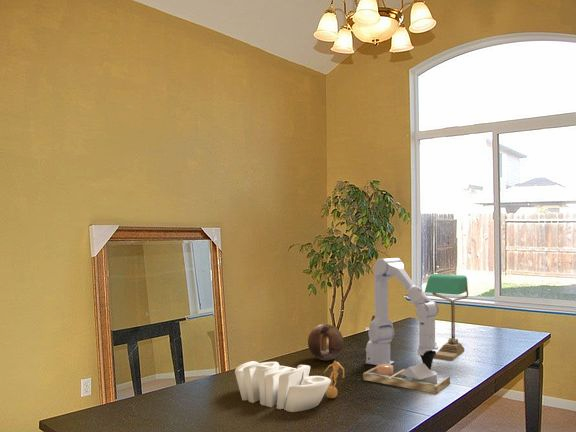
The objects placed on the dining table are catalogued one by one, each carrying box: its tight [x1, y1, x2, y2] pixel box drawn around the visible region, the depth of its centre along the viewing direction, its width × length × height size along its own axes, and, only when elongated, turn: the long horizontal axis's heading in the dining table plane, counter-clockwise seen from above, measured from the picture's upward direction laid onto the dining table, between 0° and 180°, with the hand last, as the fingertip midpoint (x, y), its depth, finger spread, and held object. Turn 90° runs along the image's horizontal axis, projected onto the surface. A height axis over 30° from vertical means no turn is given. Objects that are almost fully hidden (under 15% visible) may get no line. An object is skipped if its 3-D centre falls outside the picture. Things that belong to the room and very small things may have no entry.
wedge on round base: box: [400, 362, 438, 385], centre depth 193 cm, size 9×7×13 cm
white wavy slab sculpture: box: [234, 360, 332, 413], centre depth 176 cm, size 35×16×11 cm, turn 53°
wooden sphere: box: [307, 323, 344, 362], centre depth 226 cm, size 15×15×15 cm
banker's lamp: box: [424, 273, 469, 362], centre depth 234 cm, size 16×21×35 cm
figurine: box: [324, 360, 345, 399], centre depth 177 cm, size 8×6×12 cm
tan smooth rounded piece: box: [376, 364, 394, 377], centre depth 200 cm, size 6×6×4 cm
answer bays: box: [362, 365, 451, 394], centre depth 195 cm, size 28×14×3 cm, turn 55°
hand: (427, 370), depth 199 cm, fingers closed, pressing on wedge on round base
